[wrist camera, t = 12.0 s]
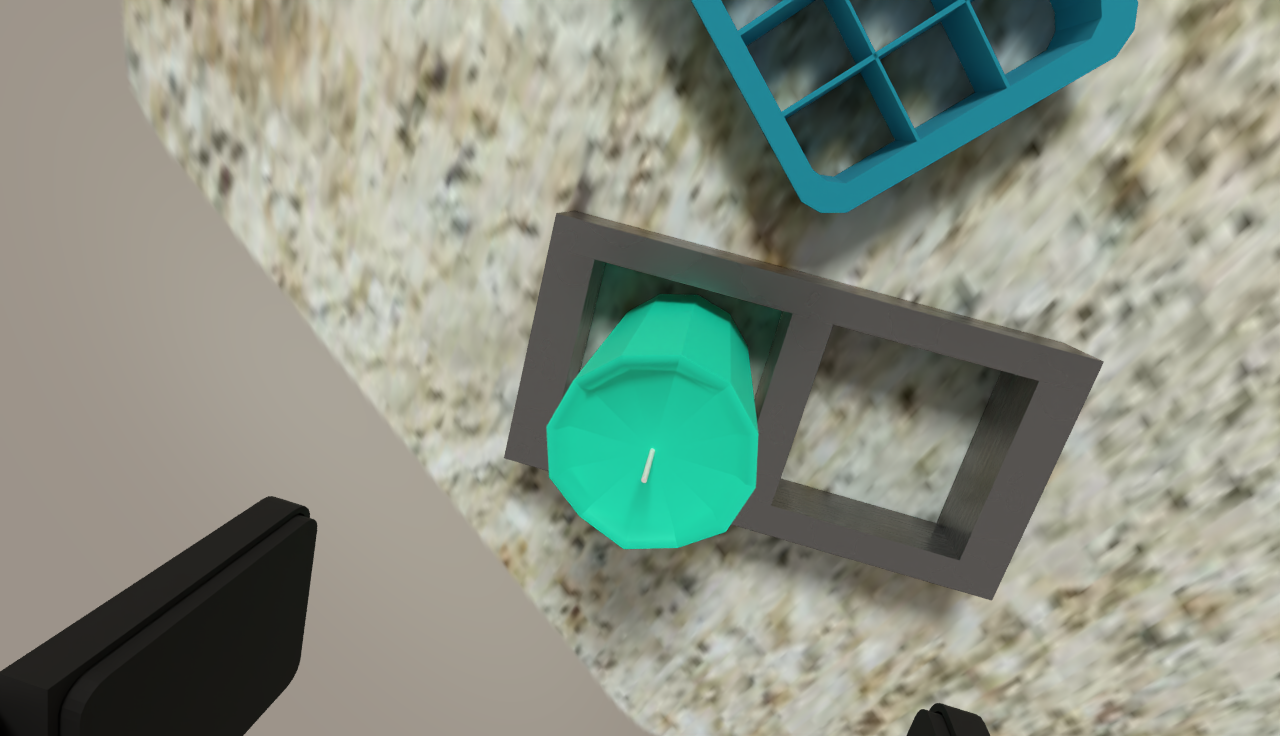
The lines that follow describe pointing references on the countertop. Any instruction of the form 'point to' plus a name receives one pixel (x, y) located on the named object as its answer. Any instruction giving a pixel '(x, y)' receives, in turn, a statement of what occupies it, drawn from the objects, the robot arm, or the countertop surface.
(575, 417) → the candle
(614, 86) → the countertop surface
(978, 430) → the hollow block
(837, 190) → the ice cube tray
